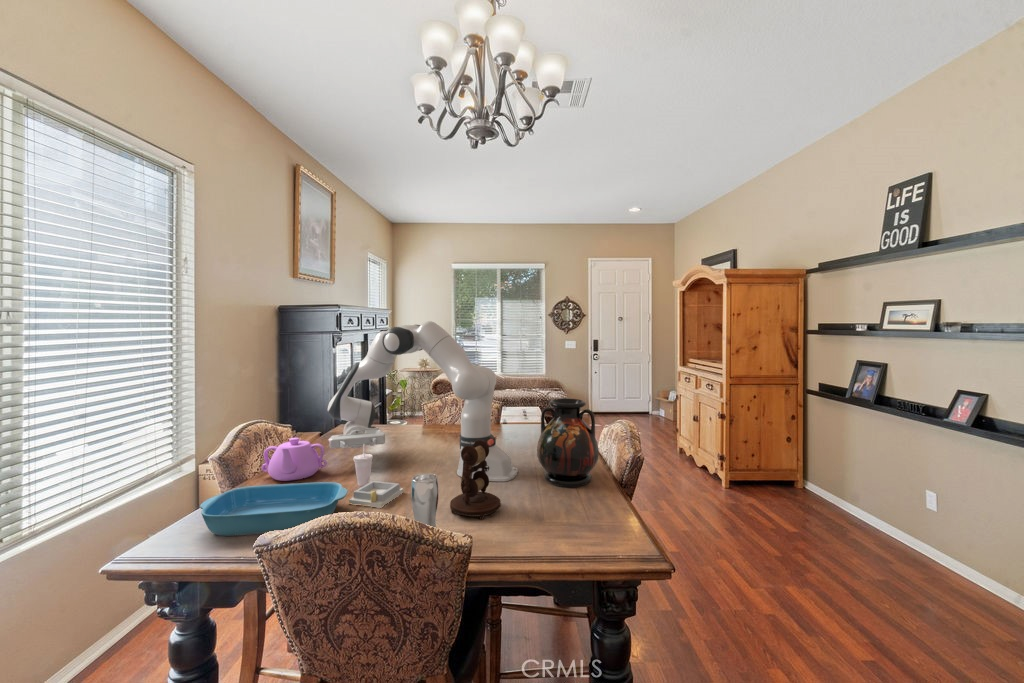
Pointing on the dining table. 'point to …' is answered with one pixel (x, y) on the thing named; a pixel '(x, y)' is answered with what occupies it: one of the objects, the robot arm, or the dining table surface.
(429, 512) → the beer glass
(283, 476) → the teapot
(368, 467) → the smoothie
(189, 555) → the dining table surface
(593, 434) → the amphora vase
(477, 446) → the brown spool stand
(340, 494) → the casserole dish
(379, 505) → the collar plate
